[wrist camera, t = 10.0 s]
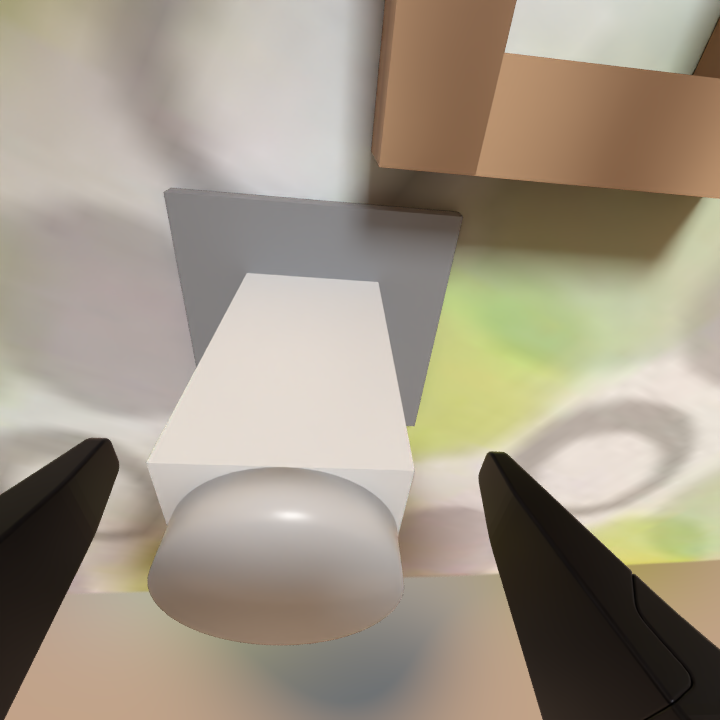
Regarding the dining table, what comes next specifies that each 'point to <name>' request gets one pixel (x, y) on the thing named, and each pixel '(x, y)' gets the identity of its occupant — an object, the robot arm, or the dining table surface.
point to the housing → (537, 107)
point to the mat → (317, 262)
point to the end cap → (286, 469)
